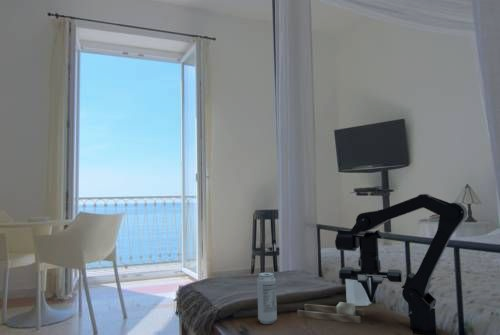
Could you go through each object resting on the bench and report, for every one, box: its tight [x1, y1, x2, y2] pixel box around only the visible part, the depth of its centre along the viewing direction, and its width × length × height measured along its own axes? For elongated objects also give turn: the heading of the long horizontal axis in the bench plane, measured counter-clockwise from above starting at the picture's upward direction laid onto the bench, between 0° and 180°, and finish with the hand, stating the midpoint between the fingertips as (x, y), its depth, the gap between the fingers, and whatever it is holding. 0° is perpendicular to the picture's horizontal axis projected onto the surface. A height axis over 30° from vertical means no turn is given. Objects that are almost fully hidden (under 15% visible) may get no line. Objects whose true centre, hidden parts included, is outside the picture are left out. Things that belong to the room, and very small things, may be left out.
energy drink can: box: [256, 272, 278, 325], centre depth 124 cm, size 6×6×15 cm
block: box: [336, 301, 357, 316], centre depth 124 cm, size 5×5×4 cm
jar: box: [345, 268, 372, 307], centre depth 141 cm, size 9×8×12 cm
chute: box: [296, 303, 365, 324], centre depth 126 cm, size 20×9×2 cm, turn 65°
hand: (371, 302), depth 121 cm, fingers closed
